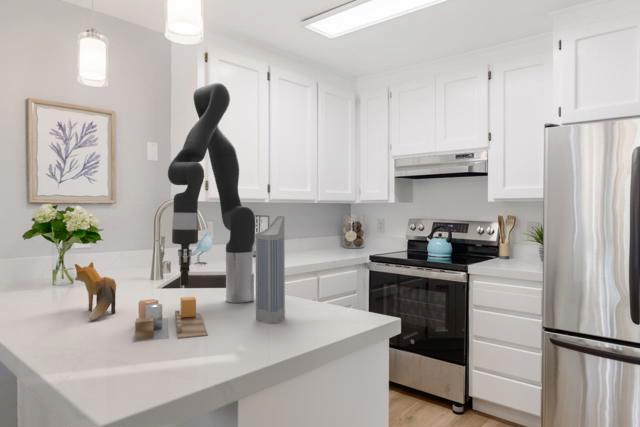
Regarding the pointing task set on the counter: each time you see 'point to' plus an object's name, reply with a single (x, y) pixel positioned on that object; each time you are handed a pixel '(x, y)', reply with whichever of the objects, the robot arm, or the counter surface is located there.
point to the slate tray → (157, 332)
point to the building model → (270, 273)
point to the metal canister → (155, 314)
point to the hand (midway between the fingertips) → (184, 285)
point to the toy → (97, 290)
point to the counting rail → (189, 326)
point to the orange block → (188, 307)
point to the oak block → (144, 328)
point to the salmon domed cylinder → (143, 306)
